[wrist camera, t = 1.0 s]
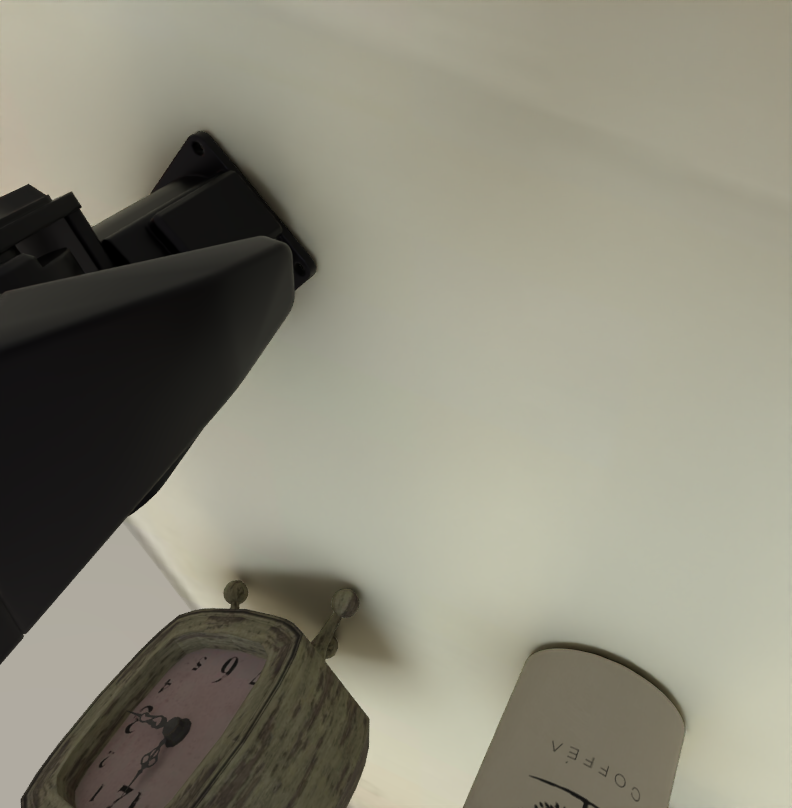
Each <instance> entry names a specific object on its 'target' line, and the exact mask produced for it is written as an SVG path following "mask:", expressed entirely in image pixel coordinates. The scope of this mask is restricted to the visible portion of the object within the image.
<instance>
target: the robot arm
mask: <svg viewBox="0 0 792 808" xmlns="http://www.w3.org/2000/svg"><path fill="white" fill-rule="evenodd" d="M200 144H201V146H202V147H203V149H202V148H201V146H200ZM79 208H81V205H80V203H79V202H78V200H77V199H76V197H75V196H74V194H73V192H69V193H67V194H65V195H63V196H61V197H59V198H56V199H54V200H52V199H51V198H50V196H49V195H45V194H43V193H42V192H40V191H39V190H37V189H36V188H34V187H33V186H31V185H29V184H28V185H26V186H23V187H21V188H19V189H17V190H15V191H13V192H11V193H9V194H7V195H4V196H2V197H0V664H1V663H2V662H3V661H4V660H5V659H6V657H7V656H8V655H9V654H10V653H11V652H12V650H13V649H14V648H15V647H16V646H17V645H18V643H19V642H20V641H21V640H22V639H23V637H24V635H23V634H26V633H27V632H28V631H29V630H30V629H31V628H32V627H33V625H34V624H35V623H36V622H37V621H38V620H39V619H40V617H41V616H42V615H43V614H44V613H45V612H46V610H47V609H48V608H49V607H50V606H51V605H52V603H53V602H54V601H55V600H56V599H57V598H58V596H59V595H60V594H61V593H62V592H63V591H64V590H65V588H66V587H67V586H68V585H69V584H70V582H71V581H72V580H73V579H74V578H75V577H76V576H77V574H78V573H79V572H80V571H81V570H82V569H83V568H84V566H85V565H86V564H87V563H88V562H89V561H90V559H91V558H92V557H93V556H94V555H95V553H96V552H97V551H98V550H99V549H100V548H101V547H102V545H103V544H104V543H105V542H106V541H107V540H108V539H109V537H110V536H111V535H112V534H113V533H114V531H115V530H116V529H117V528H118V527H119V526H120V525H121V523H122V522H123V521H124V520H125V519H126V518H127V517H128V516H129V515H131V514H132V513H134V512H135V511H137V510H138V509H139V508H140V507H142V506H143V505H144V504H146V503H147V502H148V501H149V500H150V499H151V498H152V497H153V496H154V495H155V494H156V493H157V492H158V491H159V490H160V488H161V487H162V486H163V485H164V484H165V482H166V481H167V479H168V478H169V476H170V475H171V474H172V472H173V471H174V469H175V468H176V467H177V465H178V464H179V462H180V461H181V459H182V458H183V457H184V455H185V454H186V452H187V451H188V450H189V448H190V447H191V445H192V444H193V443H194V441H195V440H196V438H197V437H198V435H199V434H200V433H201V431H202V430H203V428H204V427H205V426H206V425H207V424H208V423H209V421H210V420H211V419H212V418H213V417H214V416H215V414H216V413H217V412H218V411H219V410H220V409H221V408H222V406H223V405H224V404H225V403H226V402H227V400H228V399H229V398H230V397H231V396H232V394H233V393H234V392H235V391H236V389H237V388H238V387H239V385H240V384H241V383H242V381H243V380H244V378H245V377H246V376H247V374H248V373H249V371H250V370H251V368H252V367H253V365H254V364H255V362H256V361H257V359H258V358H259V357H260V355H261V354H262V352H263V351H264V349H265V348H266V346H267V345H268V343H269V342H270V340H271V339H272V338H273V336H274V335H275V333H276V332H277V330H278V329H279V327H280V326H281V324H282V323H283V321H284V320H285V318H286V317H287V316H288V314H289V312H290V311H291V308H292V306H293V303H294V297H295V290H296V289H297V288H299V287H300V286H301V285H302V284H303V283H305V282H306V281H307V280H308V279H309V278H310V277H312V276H313V275H314V274H315V272H316V266H315V262H314V261H313V259H312V258H311V257H310V255H309V254H308V253H307V252H306V251H305V249H304V248H303V247H302V246H301V245H300V243H299V242H298V241H297V240H296V239H295V237H294V236H293V235H292V234H291V233H290V231H289V230H288V229H287V228H286V227H285V225H284V224H283V223H282V222H281V221H280V219H279V218H278V217H277V216H276V215H275V213H274V212H273V211H272V210H271V209H270V207H269V206H268V205H267V204H266V203H265V201H264V200H263V199H262V198H261V197H260V195H259V194H258V193H257V192H256V190H255V189H254V188H253V187H252V186H251V184H250V183H249V182H248V181H247V180H246V178H245V177H244V176H243V175H242V174H241V172H240V171H239V170H238V169H237V168H236V166H235V165H234V164H233V163H232V162H231V160H230V159H229V158H228V157H227V156H226V154H225V153H224V152H223V151H222V150H221V148H220V147H219V146H218V145H217V144H216V142H215V141H214V140H213V139H212V138H211V136H209V135H208V134H207V133H205V132H203V131H198V132H196V133H194V134H192V135H191V136H189V137H188V139H187V140H186V141H185V143H184V144H183V146H182V147H181V149H180V150H179V152H178V153H177V155H176V156H175V158H174V159H173V161H172V162H171V164H170V165H169V167H168V168H167V170H166V171H165V173H164V174H163V176H162V177H161V179H160V180H159V181H158V183H157V184H156V186H155V187H154V189H153V190H152V192H151V193H150V195H148V196H146V197H144V198H143V199H141V200H139V201H137V202H136V203H134V204H132V205H130V206H129V207H127V208H125V209H123V210H121V211H120V212H118V213H116V214H114V215H113V216H111V217H109V218H107V219H105V220H104V221H102V222H100V223H98V224H97V225H95V226H93V227H91V226H90V224H89V223H88V221H87V220H86V218H85V216H84V215H83V213H82V212H81V210H80V209H79ZM300 264H301V265H302V266H303V268H304V269H303V268H302V267H301V266H300Z"/></svg>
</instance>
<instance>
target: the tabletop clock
mask: <svg viewBox="0 0 792 808" xmlns="http://www.w3.org/2000/svg"><path fill="white" fill-rule="evenodd" d="M247 596H248V588H247V586H246V584H245V583H244V582H242V581H239V580H235V581H232V582H230V583H228V584H227V585H226V587H225V589H224V598H225V600H226V601H227V602H228V603H229V604H231V607H230V609H215V608H211V609H199V610H194V611H191V612H188V613H185V614H182V615H179V616H178V617H176V618H175V619H174V620H173V621H171V622H170V623H169V624H168V625H167V626H165V627H164V628H163V629H162V630H161V631H159V632H158V633H157V634H156V635H155V636H154V637H153V638H152V639H151V640H150V641H149V642H148V643H147V644H146V645H145V646H144V647H143V648H142V649H141V650H140V651H139V652H138V653H137V654H136V655H135V657H133V659H132V660H131V661H130V662H129V663H128V664H127V665H126V666H125V667H124V668H123V669H122V670H121V671H120V673H119V674H118V675H117V676H116V677H115V678H114V679H113V680H112V681H111V682H110V683H109V684H108V686H107V687H106V688H105V689H104V690H103V691H102V692H101V693H100V694H99V696H97V698H96V699H95V700H94V701H93V702H92V704H91V705H90V706H89V707H88V709H87V710H86V711H85V712H84V713H83V715H82V716H81V717H80V718H79V720H78V721H77V722H76V723H75V724H74V726H73V727H72V728H71V729H70V731H69V732H68V733H67V734H66V735H65V737H64V738H63V739H62V740H61V741H60V743H59V744H58V745H57V747H56V748H55V749H54V751H53V752H52V753H51V755H50V756H49V757H48V759H47V760H46V761H45V763H44V764H43V765H42V767H41V768H40V769H39V771H38V772H37V774H36V775H35V777H34V778H33V780H32V782H31V783H30V785H29V787H28V789H27V790H26V792H25V793H24V795H23V796H22V798H21V808H347V806H348V804H349V802H350V799H351V797H352V795H353V793H354V791H355V789H356V787H357V785H358V782H359V780H360V777H361V775H362V772H363V769H364V766H365V763H366V758H367V753H368V749H369V718H368V716H367V715H366V714H365V712H364V711H363V710H362V709H361V707H360V706H359V705H358V703H357V702H356V701H355V700H354V698H353V697H352V696H351V694H350V693H349V692H348V691H347V689H346V688H345V687H344V685H343V684H342V683H341V682H340V680H339V679H338V678H337V676H336V675H335V674H334V673H333V671H332V670H331V669H330V667H329V666H328V665H327V663H326V662H325V659H328V658H331V657H332V656H334V655H335V653H336V652H337V649H338V641H337V639H336V637H335V636H334V635H333V634H334V632H335V630H336V628H337V626H338V624H339V622H340V620H341V618H348V617H351V616H353V615H354V614H355V613H356V612H357V610H358V608H359V599H358V597H357V595H356V593H355V592H354V591H353V590H350V589H341V590H339V591H337V592H336V593H335V594H334V596H333V598H332V602H331V605H332V609H333V611H334V613H333V615H332V616H331V617H330V619H329V620H328V622H327V623H326V624H325V626H324V627H323V628H322V630H321V631H320V632H319V634H318V635H317V636H316V638H315V639H314V640H313V641H312V642H311V643H310V642H309V640H308V639H307V638H306V636H305V635H304V634H303V633H302V632H301V631H300V629H299V628H298V627H297V626H296V625H295V624H294V623H292V622H290V621H289V620H287V619H284V618H281V617H277V616H273V615H269V614H264V613H260V612H256V611H251V610H247V609H239V604H241V603H243V602H244V601H245V600H246V598H247Z"/></svg>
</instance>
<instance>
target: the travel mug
mask: <svg viewBox="0 0 792 808" xmlns="http://www.w3.org/2000/svg"><path fill="white" fill-rule="evenodd" d="M684 736H685V726H684V722H683V719H682V717H681V715H680V713H679V712H678V710H677V709H676V707H675V706H674V705H673V703H672V702H671V701H670V700H669V699H668V698H667V697H666V696H665V695H664V694H663V693H662V692H661V691H660V690H659V689H657V688H656V687H655V686H654V685H652V684H651V683H650V682H649V681H647V680H646V679H644V678H643V677H641V676H640V675H638V674H636V673H635V672H633V671H632V670H630V669H628V668H627V667H625V666H623V665H621V664H618V663H616V662H613V661H611V660H608V659H606V658H603V657H601V656H598V655H596V654H592V653H587V652H583V651H578V650H572V649H546V650H542V651H539V652H536V653H534V654H533V655H531V656H530V657H529V658H528V659H527V660H526V662H525V664H524V666H523V669H522V671H521V673H520V676H519V678H518V680H517V683H516V685H515V687H514V690H513V692H512V694H511V697H510V699H509V701H508V704H507V706H506V708H505V711H504V713H503V715H502V718H501V720H500V722H499V725H498V727H497V729H496V732H495V734H494V736H493V739H492V741H491V743H490V746H489V748H488V750H487V753H486V755H485V757H484V760H483V762H482V764H481V767H480V769H479V771H478V774H477V776H476V778H475V781H474V783H473V785H472V788H471V790H470V792H469V795H468V797H467V799H466V802H465V804H464V806H463V808H668V805H669V800H670V796H671V792H672V787H673V783H674V779H675V775H676V770H677V766H678V762H679V757H680V753H681V749H682V745H683V740H684Z"/></svg>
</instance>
